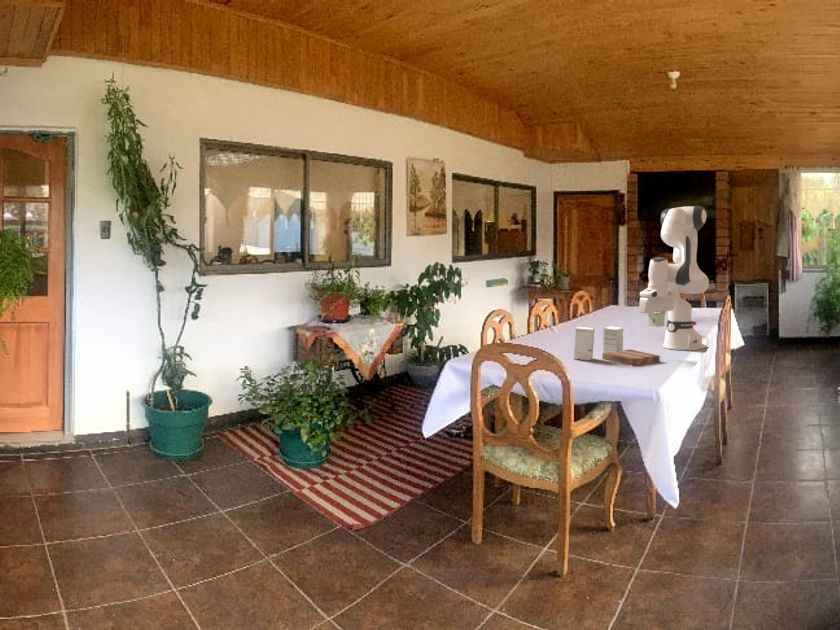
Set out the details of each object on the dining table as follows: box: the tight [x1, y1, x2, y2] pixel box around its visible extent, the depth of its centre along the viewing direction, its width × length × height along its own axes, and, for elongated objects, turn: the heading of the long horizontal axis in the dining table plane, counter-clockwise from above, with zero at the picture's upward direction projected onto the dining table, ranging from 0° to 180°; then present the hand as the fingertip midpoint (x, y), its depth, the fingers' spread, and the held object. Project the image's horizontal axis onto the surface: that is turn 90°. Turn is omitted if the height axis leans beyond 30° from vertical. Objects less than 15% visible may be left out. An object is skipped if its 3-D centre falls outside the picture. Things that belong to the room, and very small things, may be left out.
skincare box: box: [573, 326, 596, 361], centre depth 331 cm, size 8×6×15 cm
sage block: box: [648, 312, 666, 328], centre depth 333 cm, size 5×5×6 cm
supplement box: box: [602, 325, 624, 354], centre depth 346 cm, size 7×7×13 cm
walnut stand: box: [602, 349, 661, 367], centre depth 328 cm, size 18×18×3 cm
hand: (656, 321), depth 333 cm, fingers closed on sage block, 5 cm apart
